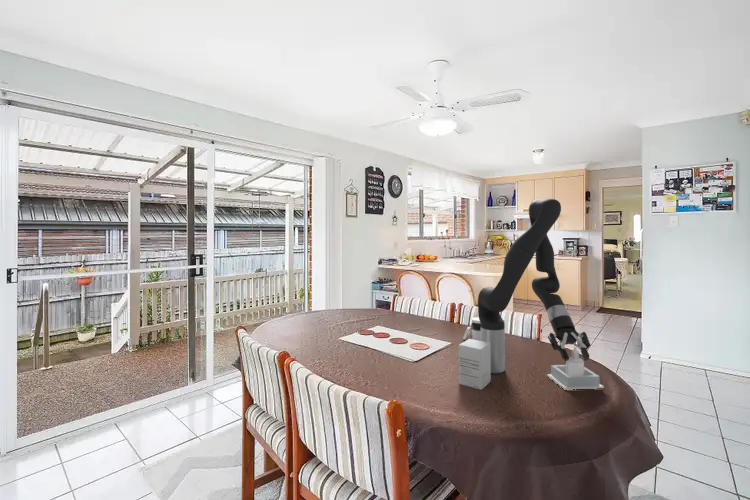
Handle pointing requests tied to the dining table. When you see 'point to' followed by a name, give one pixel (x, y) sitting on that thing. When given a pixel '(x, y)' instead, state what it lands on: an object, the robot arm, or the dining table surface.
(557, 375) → the bottle stand
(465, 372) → the supplement box
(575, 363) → the eye dropper bottle
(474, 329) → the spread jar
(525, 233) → the robot arm
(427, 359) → the dining table surface
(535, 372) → the dining table surface
